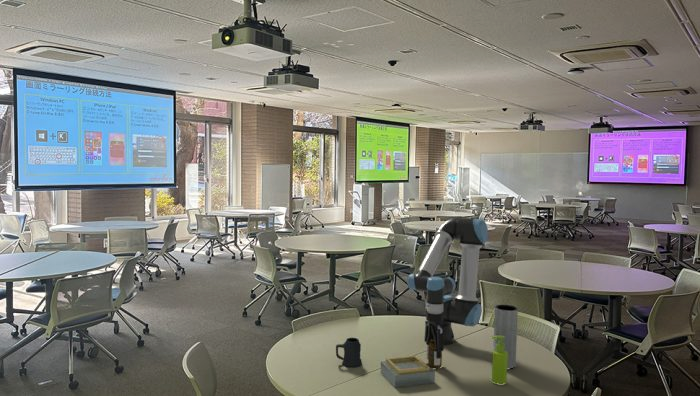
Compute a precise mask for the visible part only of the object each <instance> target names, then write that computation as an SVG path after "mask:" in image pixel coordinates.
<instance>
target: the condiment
mask: <svg viewBox="0 0 700 396" xmlns="http://www.w3.org/2000/svg"><path fill="white" fill-rule="evenodd" d="M434 350H436V349H435V342H434V339H430V345H429V353H428V359H427V363H425V364H427V365H428V366H429V367H430V368H432V369H433V368H440V367H441V365H442V363H443V361H442V360H443V357H442V356H443V351H441V357H440V365H434ZM440 369H441V368H440ZM433 370H434V371H435V370H436V369H433Z"/></svg>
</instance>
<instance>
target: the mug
mask: <svg viewBox="0 0 700 396" xmlns="http://www.w3.org/2000/svg"><path fill="white" fill-rule="evenodd" d="M361 346H362V345H361V343H360V340H359V338H356V337H347V338H346V340H345V341H344V343H343V344H342V343H341V344H336V345H335V356H336V357H337V359H339V360H342V363H341V364H342V366H344V367H346V368H359V367H361V366H362V365H363V363H362V362H363V361H362V359H361V349H362V347H361ZM339 348H343V357H342V356H341V355H340V354H339Z"/></svg>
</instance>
